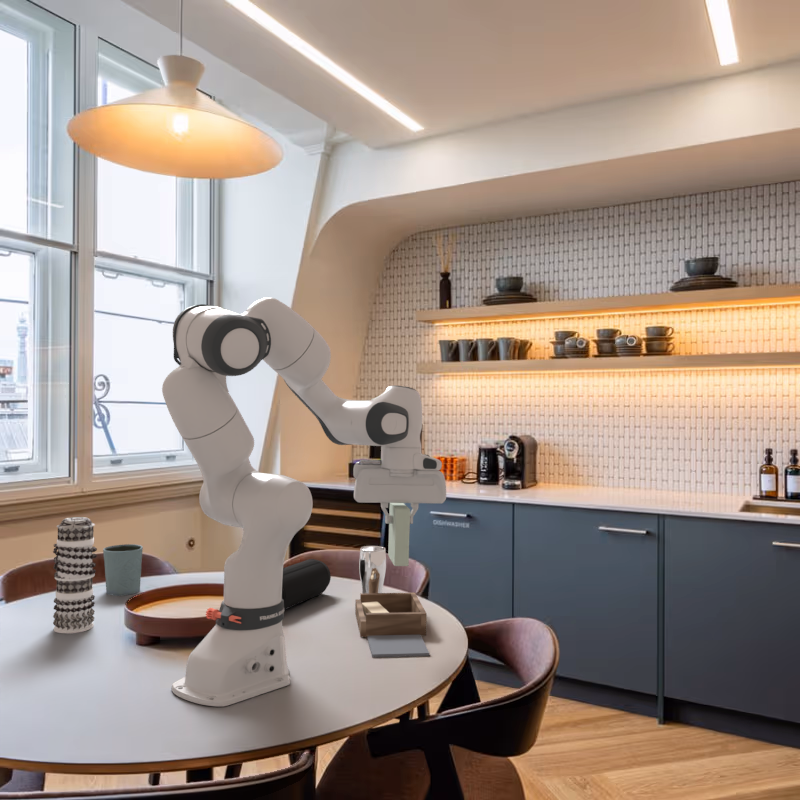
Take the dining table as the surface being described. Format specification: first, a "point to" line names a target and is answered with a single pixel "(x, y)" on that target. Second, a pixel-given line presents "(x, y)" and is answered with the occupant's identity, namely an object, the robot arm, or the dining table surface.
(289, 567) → the portable speaker
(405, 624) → the open wooden box
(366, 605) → the offcut top
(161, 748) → the dining table surface
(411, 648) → the slate mat
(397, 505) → the sage panel
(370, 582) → the beer glass
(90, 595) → the decorative candle
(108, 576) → the green cup
